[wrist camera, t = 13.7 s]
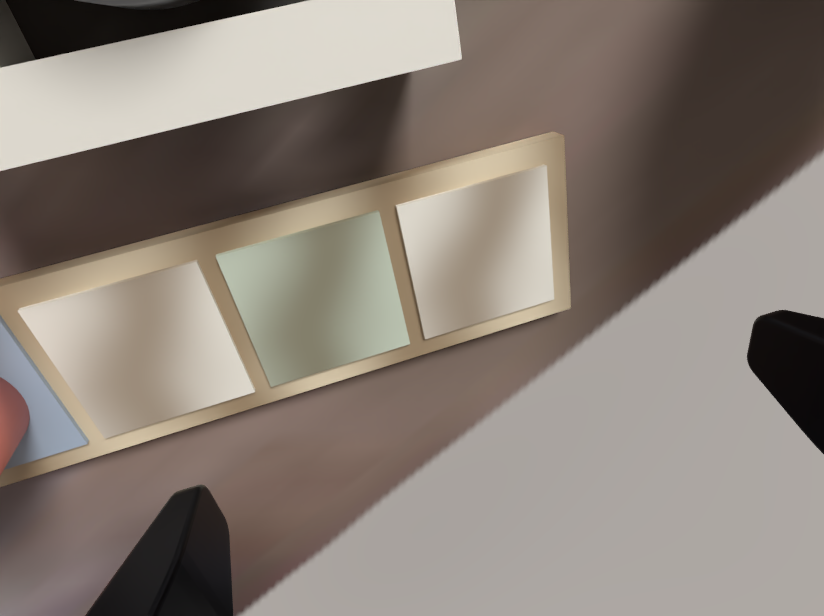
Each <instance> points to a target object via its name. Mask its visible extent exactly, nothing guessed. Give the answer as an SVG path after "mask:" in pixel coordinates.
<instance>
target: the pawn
mask: <svg viewBox="0 0 824 616" xmlns="http://www.w3.org/2000/svg"><path fill="white" fill-rule="evenodd" d="M29 420H30V415H29V409H28V406H27V404H26V401H25V400H24V398H23V397H22V395H21V394H20V393H19V392H18V390H17V389H16V388H15V387H13V386H12V385H11V384H10V383H9V382H7V381H6V380H4V379H3V378H1V377H0V475H1V474H2V472H3V470H4V468H5V467H6V465H7V463H8V462H9V460H10V458H11V456H12V455H13V453H14V451H15V450H16V448H17V446H18V444H19V443H20V441H21V439H22V438H23V436H24V434H25V433H26V431H27V428H28V426H29Z"/></svg>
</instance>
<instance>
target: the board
mask: <svg viewBox="0 0 824 616" xmlns="http://www.w3.org/2000/svg"><path fill="white" fill-rule="evenodd" d="M570 308H571V299H570V273H569V247H568V221H567V194H566V168H565V142H564V135H562V134H559V133H556V132H549V133H545V134H542V135H538V136H534V137H530V138H527V139H523V140H519V141H515V142H512V143H508V144H504V145H500V146H497V147H493V148H489V149H485V150H482V151H478V152H474V153H470V154H467V155H463V156H459V157H455V158H452V159H448V160H444V161H440V162H437V163H433V164H429V165H425V166H422V167H418V168H414V169H410V170H406V171H403V172H399V173H395V174H391V175H388V176H384V177H380V178H376V179H373V180H369V181H365V182H361V183H358V184H354V185H350V186H346V187H343V188H339V189H335V190H331V191H328V192H324V193H320V194H316V195H313V196H309V197H305V198H301V199H298V200H294V201H290V202H286V203H283V204H279V205H275V206H271V207H268V208H264V209H260V210H256V211H252V212H249V213H245V214H241V215H237V216H234V217H230V218H226V219H222V220H219V221H215V222H211V223H207V224H204V225H200V226H196V227H192V228H189V229H185V230H181V231H177V232H174V233H170V234H166V235H162V236H159V237H155V238H151V239H147V240H144V241H140V242H136V243H132V244H129V245H125V246H121V247H117V248H114V249H110V250H106V251H102V252H98V253H95V254H91V255H87V256H83V257H80V258H76V259H72V260H68V261H65V262H61V263H57V264H53V265H50V266H46V267H42V268H38V269H35V270H31V271H27V272H23V273H20V274H16V275H12V276H8V277H5V278H1V279H0V377H1V378H3V379H4V380H6V381H7V382H9V383H10V384H11V385H12V386H13V387H15V388H16V389H17V390H18V392H19V393H20V394H21V395H22V397H23V398H24V400H25V401H26V404H27V406H28V409H29V415H30V420H29V426H28V428H27V431H26V433H25V434H24V436H23V438H22V439H21V441H20V443H19V444H18V446H17V448H16V450H15V451H14V453H13V455H12V456H11V458H10V460H9V462H8V463H7V465H6V467H5V468H4V470H3V472H2V474H1V475H0V487H2V486H6V485H9V484H12V483H15V482H18V481H22V480H25V479H28V478H31V477H34V476H38V475H41V474H44V473H47V472H50V471H53V470H57V469H60V468H63V467H66V466H69V465H73V464H76V463H79V462H82V461H85V460H89V459H92V458H95V457H98V456H101V455H105V454H108V453H111V452H114V451H117V450H120V449H124V448H127V447H130V446H133V445H136V444H140V443H143V442H146V441H149V440H152V439H156V438H159V437H162V436H165V435H168V434H171V433H175V432H178V431H181V430H184V429H187V428H191V427H194V426H197V425H200V424H203V423H207V422H210V421H213V420H216V419H219V418H223V417H226V416H229V415H232V414H235V413H238V412H242V411H245V410H248V409H251V408H254V407H258V406H261V405H264V404H267V403H270V402H274V401H277V400H280V399H283V398H286V397H290V396H293V395H296V394H299V393H302V392H305V391H309V390H312V389H315V388H318V387H321V386H325V385H328V384H331V383H334V382H337V381H341V380H344V379H347V378H350V377H353V376H356V375H360V374H363V373H366V372H369V371H372V370H376V369H379V368H382V367H385V366H388V365H392V364H395V363H398V362H401V361H404V360H408V359H411V358H414V357H417V356H420V355H423V354H427V353H430V352H433V351H436V350H439V349H443V348H446V347H449V346H452V345H455V344H459V343H462V342H465V341H468V340H471V339H475V338H478V337H481V336H484V335H487V334H490V333H494V332H497V331H500V330H503V329H506V328H510V327H513V326H516V325H519V324H522V323H526V322H529V321H532V320H535V319H538V318H541V317H545V316H548V315H551V314H554V313H557V312H561V311H564V310H567V309H570Z"/></svg>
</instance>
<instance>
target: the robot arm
mask: <svg viewBox="0 0 824 616" xmlns="http://www.w3.org/2000/svg"><path fill="white" fill-rule="evenodd" d="M747 360H748V364H749V366H750V368H751V370H752V371H753V373H754V374H755V375H756V376H757V377H758V378H759V380H760V381H761V382H762V383H763V384H764V386H765V387H766V388H767V389H768V390H769V392H770V393H771V394H772V395H773V396H774V398H776V400H777V401H778V402H779V403H780V405H781V406H782V407H783V408H784V409H785V411H786V412H787V413H788V414H789V415H790V417H791V418H792V419H793V420H794V421H795V423H796V424H797V425H798V426H799V427H800V428H801V430H802V431H803V432H804V433H805V434H806V435H807V437H808V438H809V439H810V440H811V441H812V442H813V443H814V445H815V446H816V447H817V448H818V449H819V450H820V451H821V452H822V453H823V454H824V318H820V317H815V316H811V315H806V314H801V313H797V312H792V311H788V310H779V311H775V312H772V313H768V314H765V315H762V316H760V317H758V318H757V319H756V320H755V322H754V324H753V329H752V333H751V339H750V343H749V348H748V353H747ZM85 616H233V601H232V581H231V561H230V541H229V530H228V525H227V522H226V519H225V517H224V515H223V513H222V512H221V510H220V508H219V507H218V505H217V503H216V501H215V500H214V498H213V496H212V494H211V493H210V491H209V490H208V488H207V487H206V486H204V485H197V486H193V487H190V488H187V489H183V490H180V491H178V492H176V493H174V494H173V495H172V496H171V498H170V499H169V500H168V502H167V503H166V504H165V506H164V507H163V509H162V510H161V511H160V513H159V514H158V515H157V517H156V518H155V520H154V521H153V522H152V524H151V525H150V527H149V528H148V529H147V531H146V532H145V533H144V535H143V536H142V538H141V539H140V540H139V542H138V543H137V545H136V546H135V547H134V549H133V550H132V551H131V553H130V554H129V556H128V557H127V558H126V560H125V561H124V563H123V564H122V565H121V567H120V568H119V569H118V571H117V572H116V574H115V575H114V576H113V578H112V579H111V581H110V582H109V583H108V585H107V586H106V587H105V589H104V590H103V592H102V593H101V594H100V596H99V597H98V599H97V600H96V601H95V603H94V604H93V605H92V607H91V608H90V610H89V611H88V612H87V614H86V615H85Z"/></svg>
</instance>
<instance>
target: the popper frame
mask: <svg viewBox="0 0 824 616" xmlns="http://www.w3.org/2000/svg"><path fill="white" fill-rule="evenodd" d="M461 59H462V56H461V48H460V40H459V32H458V24H457V17H456V9H455V1H454V0H308V1H304V2H299V3H295V4H290V5H285V6H281V7H276V8H272V9H267V10H263V11H258V12H253V13H249V14H244V15H240V16H235V17H231V18H226V19H221V20H217V21H212V22H208V23H203V24H199V25H194V26H189V27H185V28H180V29H176V30H171V31H166V32H162V33H157V34H153V35H148V36H144V37H139V38H134V39H130V40H125V41H121V42H116V43H112V44H107V45H102V46H98V47H93V48H89V49H84V50H79V51H75V52H70V53H66V54H61V55H57V56H52V57H47V58H43V59H38V60H36V59H35V57H34V55H33V53H32V51H31V49H30V47H29V46H28V44H27V42H26V40H25V38H24V36H23V34H22V32H21V30H20V28H19V26H18V24H17V22H16V20H15V18H14V16H13V14H12V12H11V10H10V8H9V6H8V5H7V3H6V1H5V0H0V171H2V170H7V169H11V168H15V167H19V166H23V165H27V164H31V163H36V162H40V161H44V160H48V159H52V158H56V157H60V156H64V155H69V154H73V153H77V152H81V151H85V150H89V149H93V148H98V147H102V146H106V145H110V144H114V143H118V142H122V141H127V140H131V139H135V138H139V137H143V136H147V135H151V134H155V133H160V132H164V131H168V130H172V129H176V128H180V127H184V126H189V125H193V124H197V123H201V122H205V121H209V120H213V119H217V118H222V117H226V116H230V115H234V114H238V113H242V112H246V111H251V110H255V109H259V108H263V107H267V106H271V105H275V104H280V103H284V102H288V101H292V100H296V99H300V98H304V97H308V96H313V95H317V94H321V93H325V92H329V91H333V90H337V89H342V88H346V87H350V86H354V85H358V84H362V83H366V82H370V81H375V80H379V79H383V78H387V77H391V76H395V75H399V74H404V73H408V72H412V71H416V70H420V69H424V68H428V67H433V66H437V65H441V64H445V63H449V62H453V61H457V60H461Z"/></svg>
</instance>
